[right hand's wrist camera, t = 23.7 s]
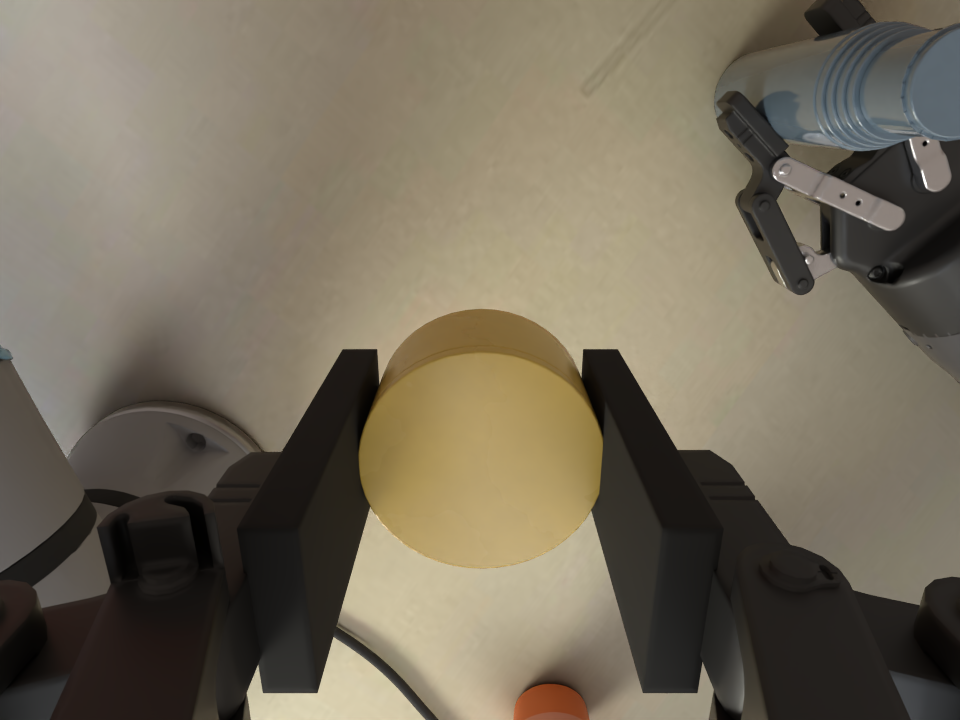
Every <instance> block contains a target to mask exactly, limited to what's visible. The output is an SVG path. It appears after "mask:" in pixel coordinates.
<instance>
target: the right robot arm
mask: <svg viewBox="0 0 960 720" xmlns="http://www.w3.org/2000/svg"><path fill="white" fill-rule="evenodd" d="M12 359H13V357H12V355H11V353H10V352H9V350H7V349H4V348H2V347H1V345H0V720H251V719H250V711H249V704H248V698H247V690H248V688H249V685H250V683H251V680H252V678H253V675H254V673H255V671H256V668H257V666H258V665H259V671H260V677H261V683H262V689H263V693H318V689H319V686H320V682H321V679H322V675H323V671H324V668H325V664H326V661H327V657H328V654H329V650H330V647H331V643H332V640H333V637H335V638H336V639H338V640H339V641H341V642H342V643H344V644H345V645H347V646H348V647H350V648H351V649H353V650H354V651H356V652H357V653H358V654H360V655H361V656H362V657H364V658H365V659H366V660H368V661H369V662H370V663H371V664H373V665H374V666H375V667H376V668H377V669H378V670H380V671H381V672H382V673H383V674H384V675H385V676H386V677H387V678H388V679H389V680H390V681H391V682H392V683H393V684H394V685H395V686H396V687H397V688H398V689H399V690H400V691H401V692H402V693H403V694H404V696H405V697H406V698H407V699H408V700H409V701H410V702H411V704H412V705H413V706H414V707H415V708H416V709H417V710H418V712H419V713H420V714H421V715H422V716H423V717H424V718H425V719H426V720H438V719H437V718H436V716H435V715H434V714H433V713H432V712H431V711H430V710H429V709H428V708H427V706H426V705H425V704H424V703H423V702H422V701H421V699H420V698H419V697H418V696H417V695H416V694H415V692H414V691H413V690H412V689H411V688H410V687H409V686H408V684H407V683H406V682H405V681H404V680H403V679H402V678H401V677H400V676H399V675H398V674H397V673H396V672H395V671H394V670H393V669H392V668H391V667H390V666H389V665H388V664H387V663H385V662H384V661H383V660H382V659H381V658H380V657H378V656H377V655H376V654H375V653H373V652H372V651H371V650H370V649H368V648H367V647H366V646H364V645H363V644H362V643H360V642H359V641H357V640H356V639H354V638H353V637H351V636H350V635H348V634H347V633H345V632H344V631H342V630H341V629H339V628H338V627H336V625H337V622H338V618H339V615H340V611H341V608H342V604H343V601H344V597H345V594H346V590H347V587H348V583H349V579H350V576H351V572H352V569H353V565H354V562H355V558H356V555H357V551H358V548H359V544H360V541H361V537H362V533H363V530H364V526H365V523H366V519H367V516H368V512H369V509H370V505H369V503H368V501H367V499H366V496H365V494H364V491H363V488H362V484H361V480H360V471H359V457H358V452H359V444H360V438H361V435H362V431H363V428H364V425H365V422H366V420H367V417H368V414H369V411H370V409H371V406H372V403H373V401H374V398H375V395H376V393H377V390H378V387H379V372H378V356H377V349H343V350H342V352H341V353H340V355H339V357H338V358H337V360H336V362H335V363H334V365H333V367H332V368H331V370H330V372H329V373H328V375H327V377H326V379H325V380H324V382H323V384H322V385H321V387H320V389H319V390H318V392H317V394H316V395H315V397H314V399H313V400H312V402H311V404H310V406H309V407H308V409H307V411H306V412H305V414H304V416H303V417H302V419H301V421H300V422H299V424H298V426H297V427H296V429H295V431H294V432H293V434H292V436H291V438H290V439H289V441H288V443H287V444H286V446H285V448H284V449H283V451H282V452H262V451H261V450H260V449H259V447H258V446H257V445H256V444H255V443H254V442H253V441H252V439H250V438H249V437H248V436H247V435H246V434H245V433H244V432H243V431H241V430H240V429H239V428H238V427H236V426H235V425H234V424H232V423H230V422H229V421H227V420H226V419H224V418H222V417H220V416H218V415H217V414H214V413H212V412H210V411H208V410H205V409H202V408H199V407H196V406H193V405H189V404H185V403H179V402H170V401H150V402H142V403H137V404H133V405H129V406H126V407H124V408H121V409H119V410H117V411H115V412H113V413H111V414H109V415H108V416H107V417H105V418H104V419H102V420H101V421H100V422H99V423H97V424H96V425H95V426H93V427H92V428H91V429H90V430H88V431H87V432H86V433H85V434H84V435H83V436H82V437H81V438H80V440H79V441H78V442H77V443H76V445H75V446H74V448H73V449H72V451H71V452H70V454H69V456H68V458H67V459H66V457H65V455H64V453H63V452H62V450H61V448H60V447H59V445H58V443H57V442H56V440H55V438H54V436H53V435H52V433H51V431H50V430H49V428H48V426H47V425H46V423H45V421H44V420H43V418H42V416H41V414H40V413H39V411H38V409H37V407H36V405H35V404H34V402H33V400H32V398H31V396H30V395H29V393H28V391H27V389H26V387H25V386H24V384H23V382H22V380H21V378H20V377H19V375H18V373H17V371H16V370H15V368H14V366H13V364H12V362H11V361H10V360H12ZM582 381H583V384H584V386H585V389H586V391H587V394H588V397H589V399H590V402H591V404H592V407H593V409H594V412H595V415H596V417H597V420H598V422H599V425H600V428H601V432H602V435H603V451H602V464H601V477H600V490H599V496H598V498H597V500H596V502H595V504H594V506H593V508H592V510H591V511H592V514H593V518H594V521H595V525H596V528H597V532H598V536H599V539H600V543H601V546H602V550H603V553H604V557H605V560H606V564H607V567H608V571H609V574H610V578H611V582H612V585H613V589H614V592H615V596H616V599H617V603H618V606H619V610H620V613H621V617H622V620H623V624H624V628H625V631H626V635H627V638H628V642H629V645H630V649H631V652H632V656H633V659H634V663H635V666H636V670H637V674H638V677H639V681H640V684H641V688H642V691H643V693H697V692H698V686H699V680H700V673H701V667H702V661H703V664H704V666H705V669H706V671H707V674H708V676H709V678H710V681H711V683H712V686H713V688H714V693H713V698H712V704H711V710H710V716H709V720H960V578H958V577H948V578H942V579H936V580H934V581H933V582H931V583H930V584H929V585H928V586H927V587H925V590H924V593H923V597H922V600H921V603H920V605H915V604H910V603H906V602H901V601H896V600H892V599H887V598H882V597H877V596H873V595H868V594H865V593H861V592H858V591H854V590H852V588H851V585H850V583H849V582H848V580H847V579H846V578H845V576H844V575H843V574H842V572H841V571H840V570H839V569H838V568H837V567H836V566H834V565H833V564H831V563H830V562H829V561H827V560H826V559H825V558H823V557H822V556H819V555H817V554H815V553H813V552H810V551H808V550H806V549H804V548H801V547H797V546H792V545H790V544H789V543H788V541H787V540H786V539H785V537H784V536H783V534H782V533H781V532H780V530H779V529H778V528H777V526H776V525H775V523H774V522H773V521H772V519H771V518H770V517H769V515H768V514H767V512H766V511H765V510H764V508H763V507H762V506H761V504H760V503H759V501H758V500H755V496H754V494H753V493H752V492H751V490H750V489H749V488H748V486H745V484H744V481H743V479H742V478H741V477H740V475H739V474H738V472H737V471H736V470H735V468H734V467H733V466H732V465H731V464H730V463H728V462H727V461H725V460H724V459H722V458H721V457H719V456H718V455H716V454H715V453H713V452H712V451H710V450H677V449H676V447H675V445H674V444H673V442H672V440H671V439H670V437H669V435H668V433H667V432H666V430H665V428H664V427H663V425H662V423H661V422H660V420H659V418H658V417H657V415H656V413H655V412H654V410H653V408H652V406H651V405H650V403H649V401H648V400H647V398H646V396H645V395H644V393H643V391H642V390H641V388H640V386H639V385H638V383H637V381H636V379H635V378H634V376H633V374H632V373H631V371H630V369H629V368H628V366H627V364H626V363H625V361H624V359H623V358H622V356H621V354H620V353H619V351H618V349H583V362H582Z"/></svg>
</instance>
